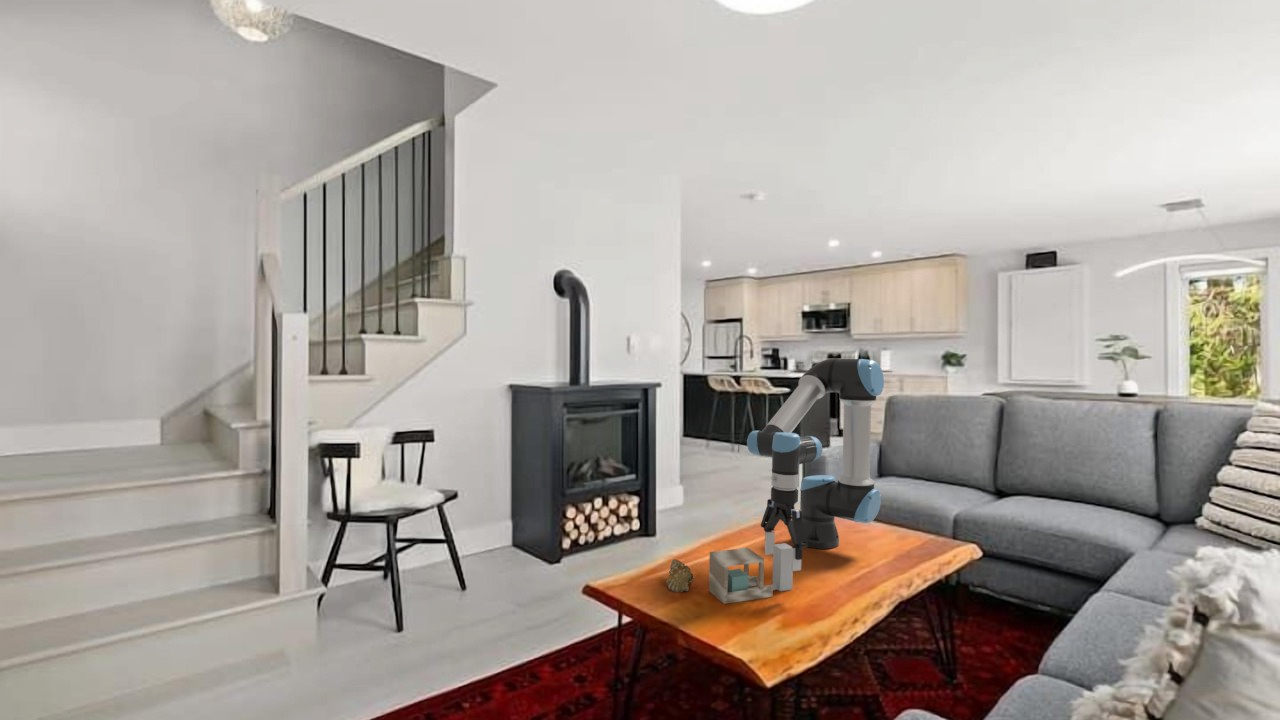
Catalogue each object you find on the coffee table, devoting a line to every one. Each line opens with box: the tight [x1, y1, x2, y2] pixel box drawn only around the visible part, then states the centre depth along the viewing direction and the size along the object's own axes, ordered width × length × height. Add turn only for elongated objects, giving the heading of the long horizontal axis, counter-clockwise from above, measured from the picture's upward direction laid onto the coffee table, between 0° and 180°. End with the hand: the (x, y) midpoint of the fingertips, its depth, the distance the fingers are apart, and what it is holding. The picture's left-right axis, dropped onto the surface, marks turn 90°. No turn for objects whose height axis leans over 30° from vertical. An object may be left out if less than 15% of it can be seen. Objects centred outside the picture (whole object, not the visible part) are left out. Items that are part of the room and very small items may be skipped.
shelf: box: [708, 547, 774, 605], centre depth 170 cm, size 15×9×11 cm, turn 110°
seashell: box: [665, 558, 695, 593], centre depth 176 cm, size 9×8×10 cm
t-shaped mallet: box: [727, 542, 794, 592], centre depth 172 cm, size 20×5×12 cm, turn 110°
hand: (782, 562), depth 174 cm, fingers open, 13 cm apart
